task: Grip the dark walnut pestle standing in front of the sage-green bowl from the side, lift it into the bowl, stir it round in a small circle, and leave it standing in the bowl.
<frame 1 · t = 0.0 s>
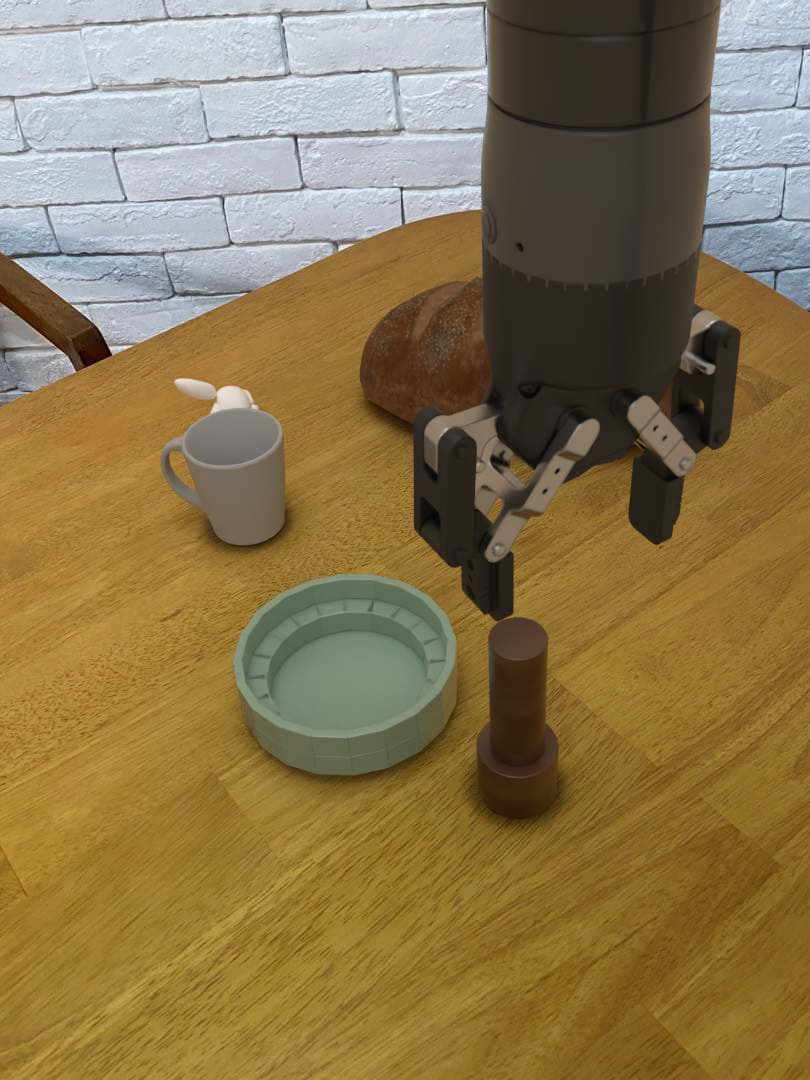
hand: (573, 568, 49), 23 cm above the table, tool pointing down, fingers open, 8 cm apart
bowl: (351, 695, 75), on the table
bread: (524, 406, 99), on the table
grandmother figurine: (536, 273, 117), on the table
cup: (235, 524, 90), on the table
pestle: (517, 785, 69), on the table
rabbit figurine: (220, 434, 99), on the table
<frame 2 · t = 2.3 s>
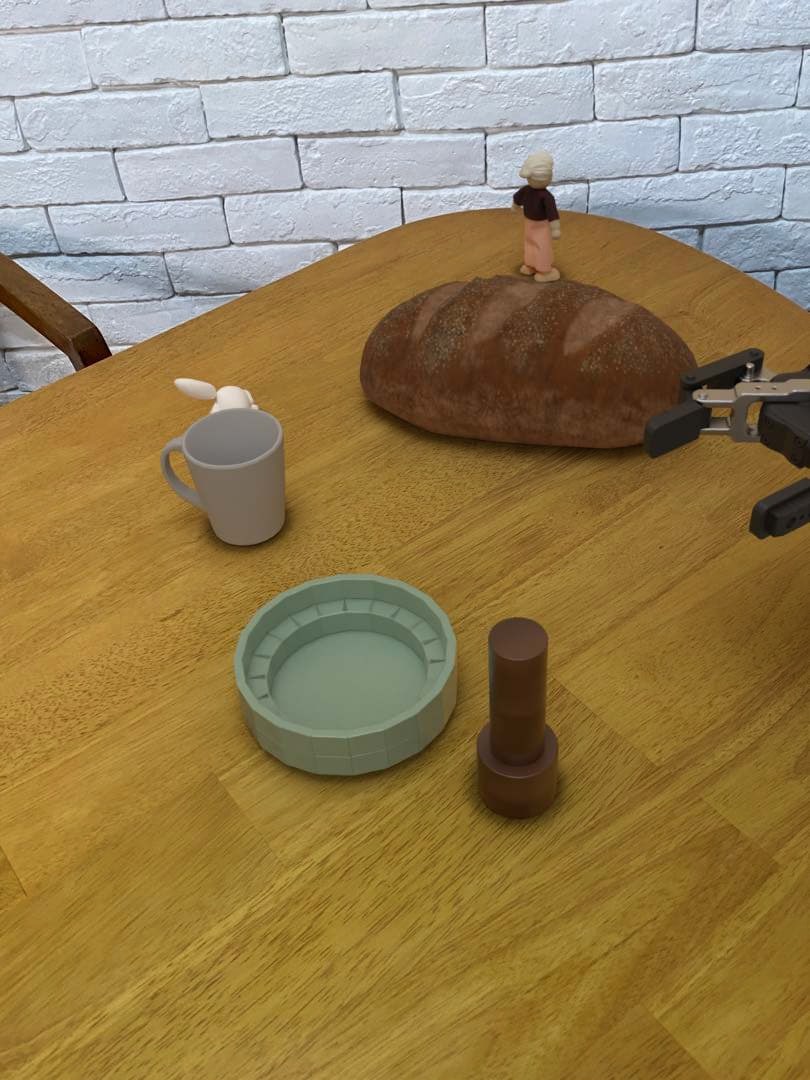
hand: (699, 481, 61), 18 cm above the table, tool horizontal, fingers open, 8 cm apart
nothing on the table moved.
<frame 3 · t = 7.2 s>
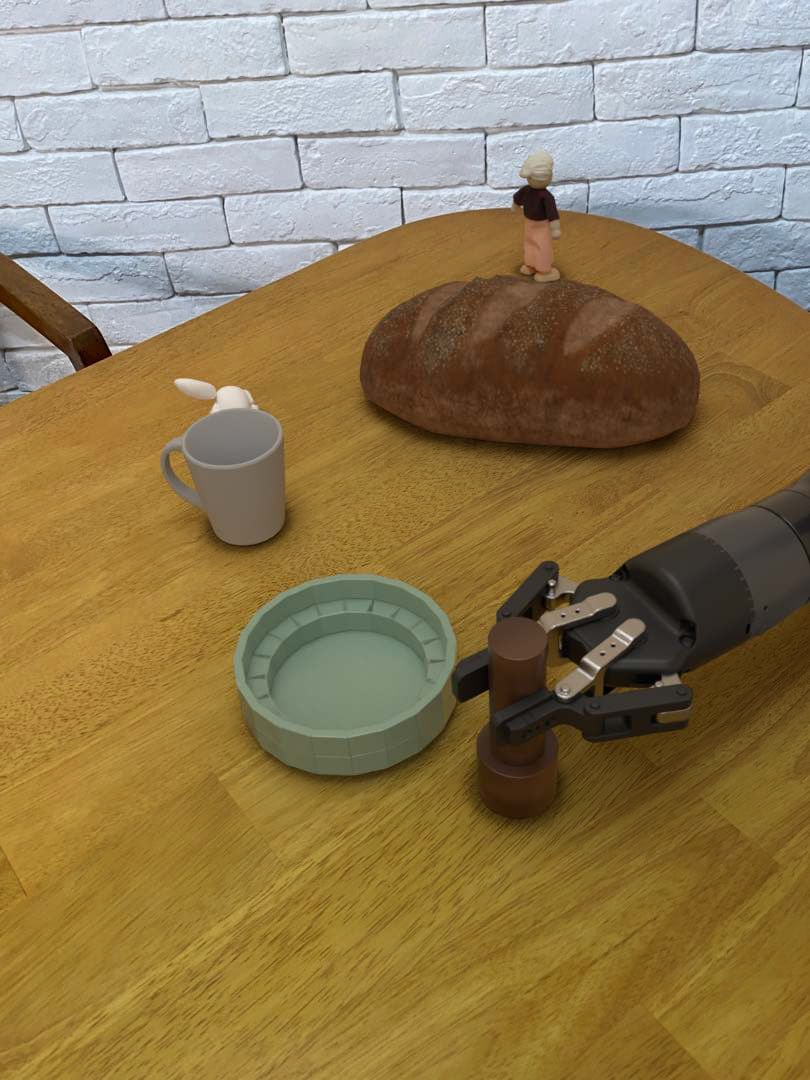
hand: (475, 709, 62), 9 cm above the table, tool horizontal, fingers closed on pestle, 3 cm apart
pestle: (517, 785, 69), on the table, touching gripper
everything else where it was.
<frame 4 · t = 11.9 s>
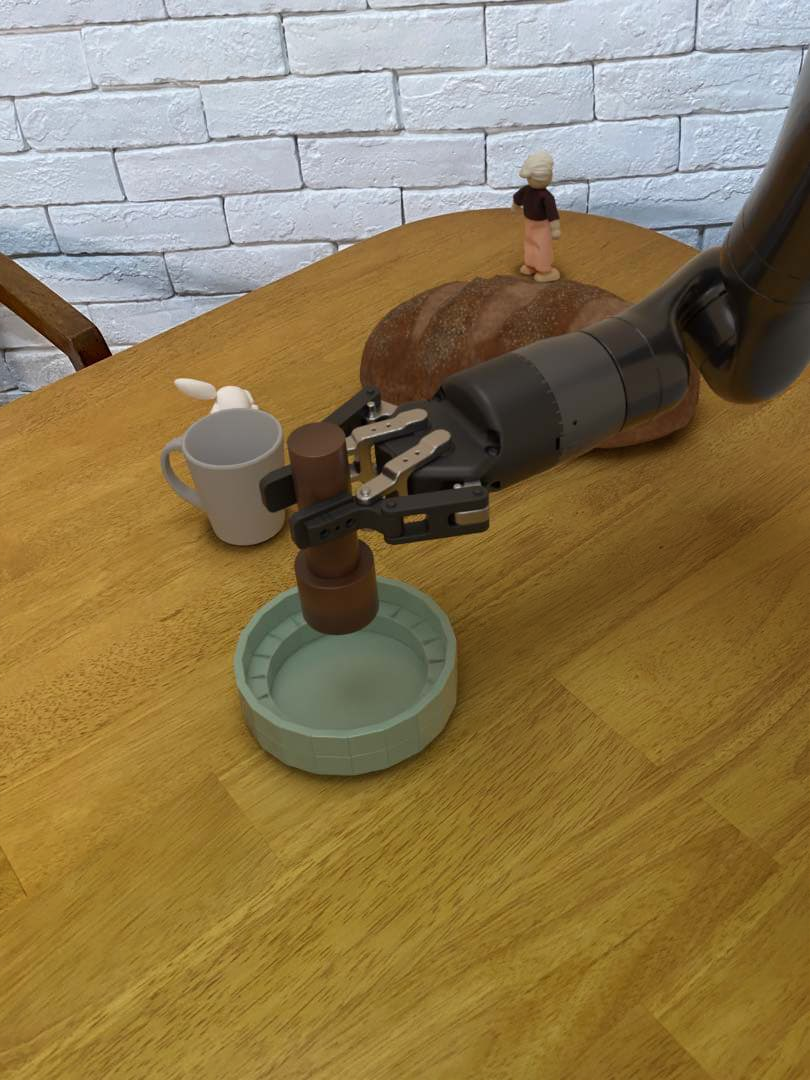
hand: (279, 514, 63), 17 cm above the table, tool horizontal, fingers closed on pestle, 3 cm apart
pestle: (340, 607, 70), point 8 cm above the table, touching gripper
everything else where it was.
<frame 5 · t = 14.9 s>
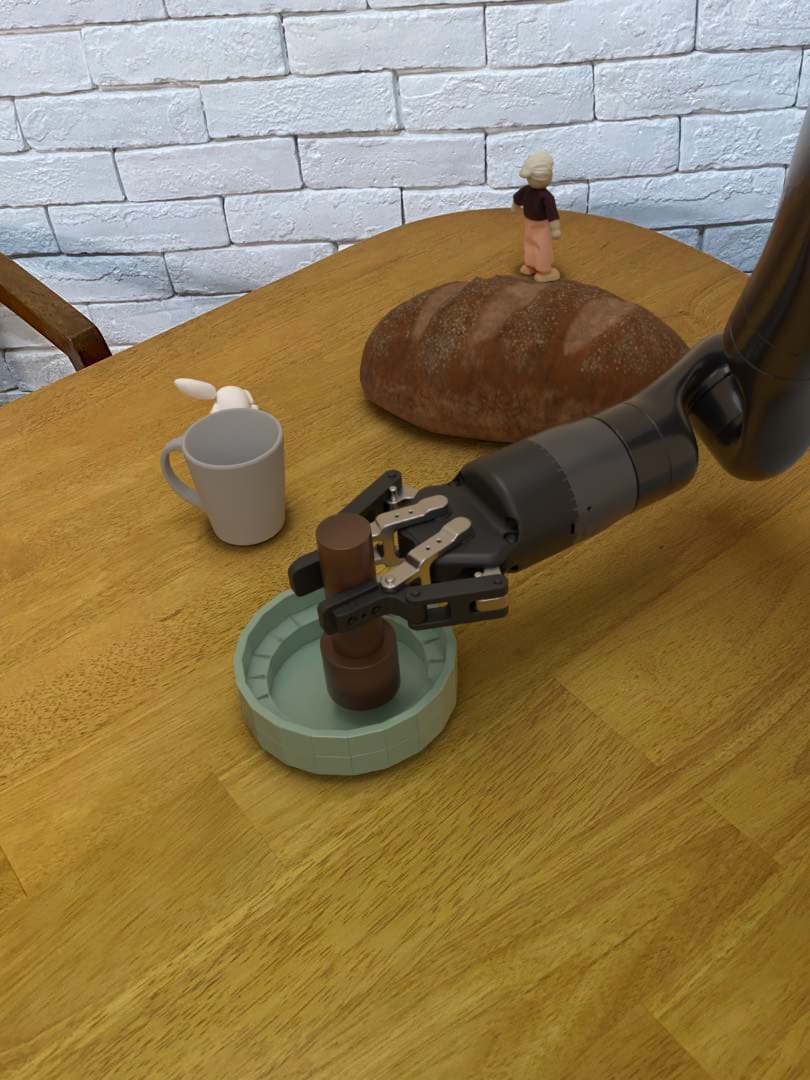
hand: (307, 601, 66), 11 cm above the table, tool horizontal, fingers closed on pestle, 3 cm apart
pestle: (363, 682, 73), point 2 cm above the table, touching gripper
everything else where it was.
when the fingers open (10 cm above the table, at t = 16.9 s): pestle stays where it is, resting on bowl.
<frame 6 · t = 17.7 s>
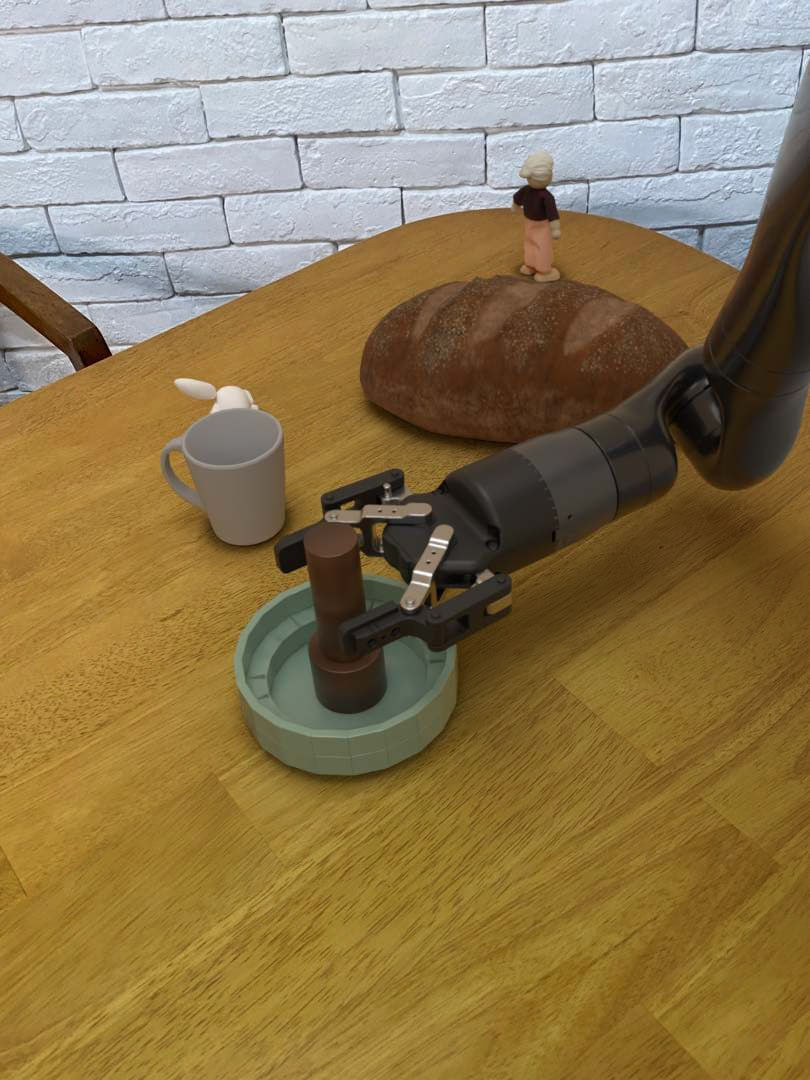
hand: (308, 599, 68), 10 cm above the table, tool horizontal, fingers open, 8 cm apart
pestle: (351, 686, 75), point 1 cm above the table, touching bowl
everything else where it was.
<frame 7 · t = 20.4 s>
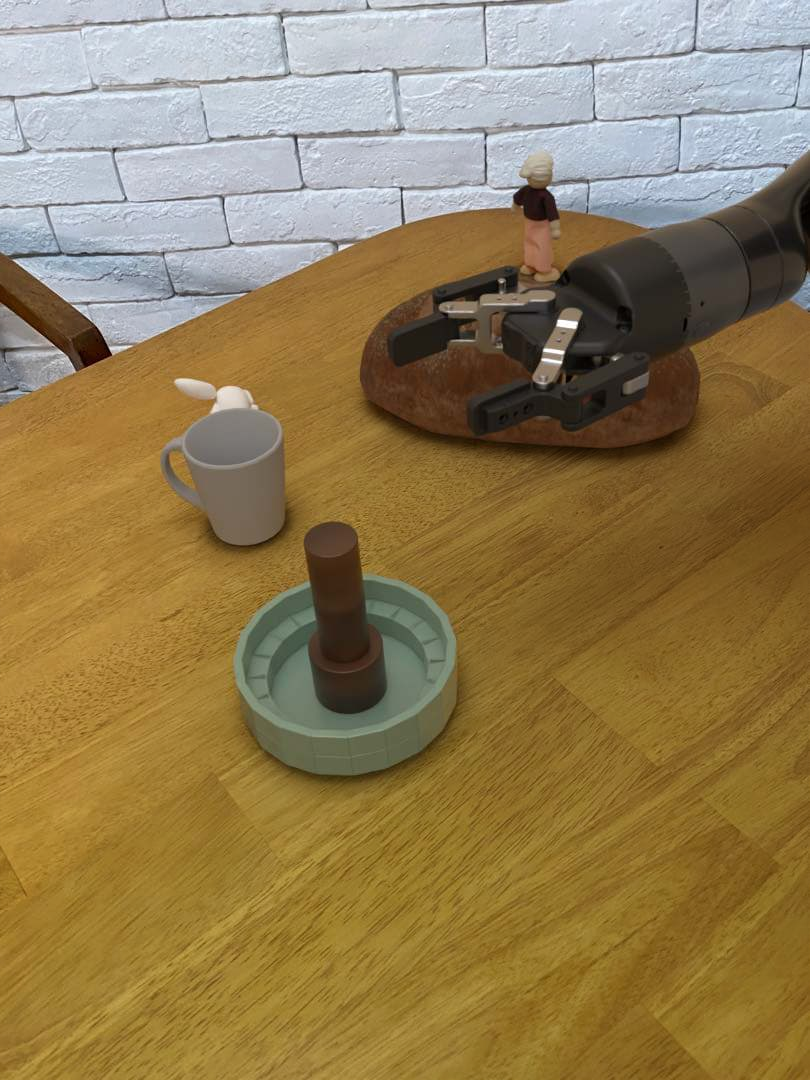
hand: (428, 383, 63), 22 cm above the table, tool horizontal, fingers open, 8 cm apart
nothing on the table moved.
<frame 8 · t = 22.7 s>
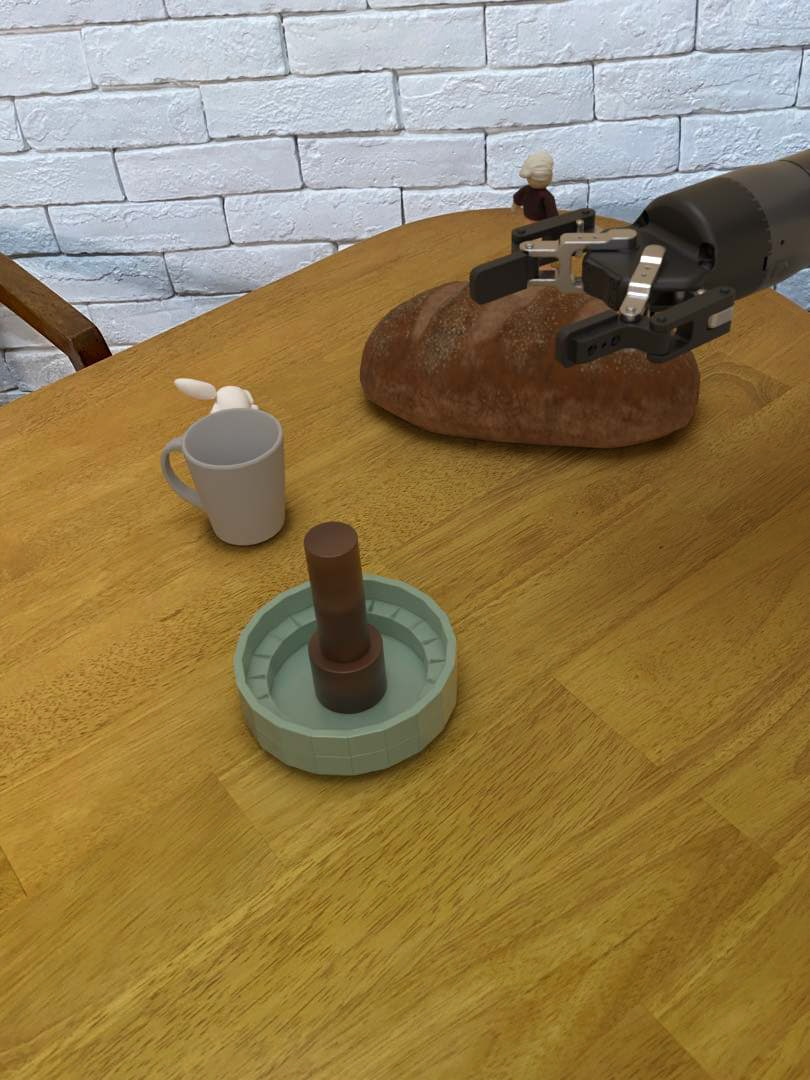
hand: (514, 318, 64), 24 cm above the table, tool horizontal, fingers open, 8 cm apart
nothing on the table moved.
at the end: pestle inside the target area in the bowl (0.1 cm from its centre), point 0.8 cm above the bowl's base; pestle tilted 0°; cup moved 0.2 cm from its start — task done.
